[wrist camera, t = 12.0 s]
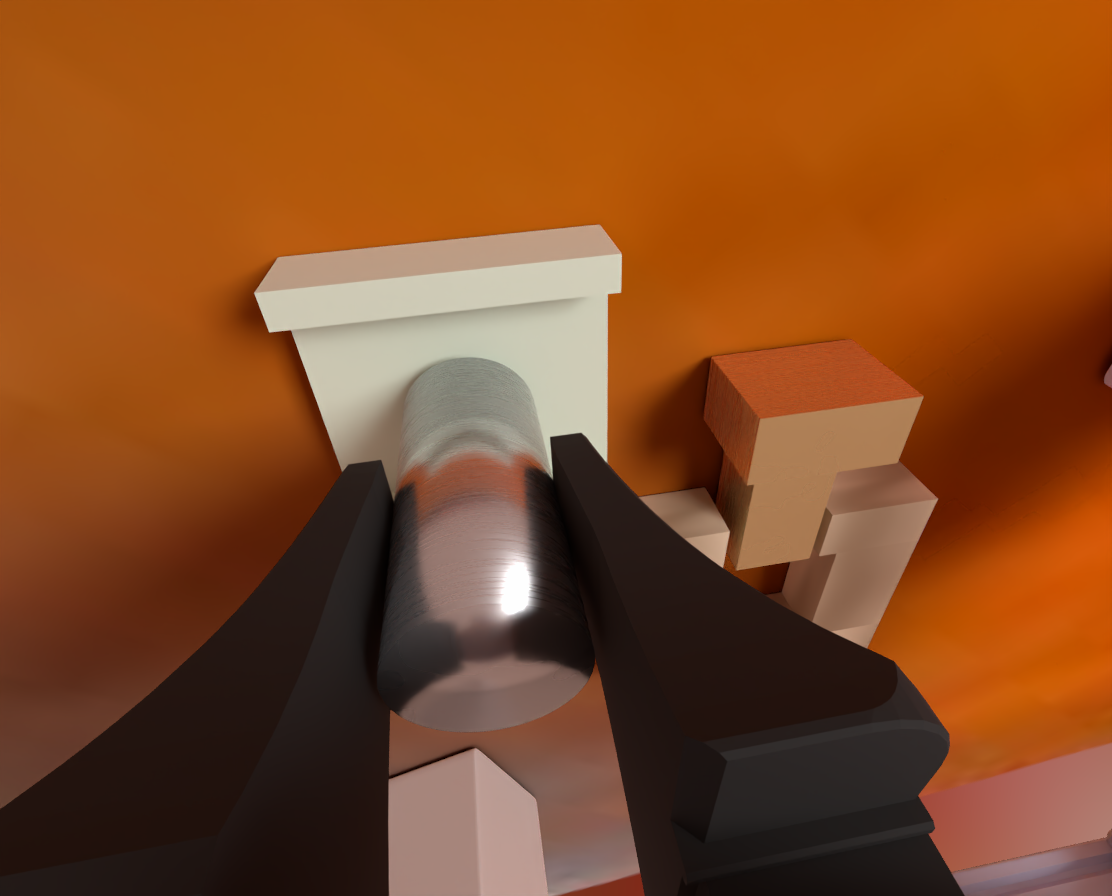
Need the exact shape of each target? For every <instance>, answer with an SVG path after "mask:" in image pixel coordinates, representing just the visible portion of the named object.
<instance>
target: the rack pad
mask: <svg viewBox="0 0 1112 896" xmlns="http://www.w3.org/2000/svg"><path fill="white" fill-rule="evenodd" d="M621 266H622V253H621V252H620V251H619V249H618V248H617V247H616V245H615V244H614V243H613V241H612V240H611V239H610V238H609V236H608V235H607V234H606V232H605V231H604V230H603V228H602V227H601V226H600V225H590V226H580V227H570V228H561V229H551V230H541V231H531V232H521V233H512V234H502V235H492V236H482V237H472V238H463V239H453V240H443V241H433V242H423V243H413V244H404V245H394V246H384V247H374V248H364V249H355V250H345V251H335V252H325V253H315V254H306V255H296V256H286V257H278V258H277V260H276V261H275V263H274V264H273V266H272V267H271V269H270V270H269V272H268V273H267V275H266V276H265V278H264V279H263V281H262V282H261V284H260V285H259V287H258V288H257V289H256V291H255V292H254V294H255V297H256V299H257V302H258V304H259V307H260V310H261V312H262V315H263V317H264V320H265V322H266V325H267V328H268V330H269V332H278V331H287V330H291V332H292V335H293V337H294V340H295V343H296V346H297V348H298V351H299V354H300V357H301V359H302V362H303V365H304V368H305V371H306V373H307V376H308V379H309V382H310V384H311V387H312V390H313V393H314V395H315V398H316V401H317V404H318V406H319V409H320V412H321V415H322V418H323V420H324V423H325V426H326V429H327V431H328V434H329V437H330V440H331V442H332V445H333V448H334V451H335V454H336V456H337V459H338V462H339V465H340V467H341V470H342V472H343V471H344V469H345V468H346V467H347V466H348V464H354V463H361V462H368V461H376V460H382V464H383V467H384V470H385V473H386V477H387V480H388V483H389V487H390V490H391V493H392V497H393V500H394V497H395V487H396V477H397V467H398V456H399V446H400V436H401V426H402V416H403V407H404V402H405V398H406V395H407V393H408V391H409V389H410V388H411V386H412V385H413V383H414V382H415V381H416V380H417V379H418V378H419V377H420V376H421V375H422V374H423V373H424V372H426V371H427V370H429V369H430V368H432V367H433V366H436V365H438V364H440V363H442V362H445V361H448V360H452V359H457V358H467V357H472V358H483V359H488V360H492V361H495V362H498V363H500V364H503V365H505V366H506V367H508V368H510V369H511V370H513V371H514V372H515V373H517V374H518V375H519V376H520V377H521V378H522V379H523V380H524V381H525V383H526V384H527V386H528V387H529V389H530V391H531V393H532V396H533V398H534V402H535V406H536V410H537V414H538V419H539V423H540V427H541V431H542V435H543V439H544V443H545V448H546V452H547V456H548V460H549V464H550V468H551V472H552V459H551V445H550V437H552V436H559V435H567V434H574V433H582V434H583V435H585V436H586V437H587V438H588V440H589V441H590V442H591V444H592V445H593V446H594V448H595V449H596V450H597V451H598V453H599V454H600V455H601V456H602V458H603V459H604V460H605V461H606V462H607V331H608V294H612V293H621ZM607 463H608V462H607ZM552 477H553V473H552Z"/></svg>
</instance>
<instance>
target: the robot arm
mask: <svg viewBox="0 0 1112 896" xmlns="http://www.w3.org/2000/svg"><path fill="white" fill-rule="evenodd" d="M1104 383H1105V384H1106V385H1107V386H1109V387H1111V388H1112V364H1111V366H1110V368H1109V369H1108V371H1107V372H1106V375H1105V377H1104ZM550 445H551V459H552V473H553V482H554V486H555V490H556V495H557V499H558V503H559V507H560V511H561V515H562V519H563V522H564V526H565V531H566V535H567V539H568V543H569V547H570V551H571V555H572V560H573V564H574V568H575V572H576V576H577V580H578V584H579V589H580V593H581V597H582V601H583V605H584V609H585V613H586V618H587V622H588V626H589V630H590V634H591V638H592V642H593V647H594V652H595V658H596V662H597V666H598V669H599V673H600V677H601V681H602V686H603V691H604V695H605V700H606V705H607V709H608V714H609V719H610V723H611V728H612V733H613V738H614V743H615V747H616V752H617V757H618V762H619V767H620V772H621V776H622V781H623V786H624V791H625V796H626V801H627V806H628V811H629V816H630V821H631V826H632V831H633V836H634V842H635V847H636V852H637V857H638V862H639V868H640V873H641V878H642V883H643V889H644V894H645V896H1112V829H1111V830H1110V831H1109V832H1108V834H1107V837H1106V838H1101V839H1097V840H1092V841H1088V842H1083V843H1079V844H1074V845H1070V846H1066V847H1061V848H1057V849H1052V850H1048V851H1044V852H1039V853H1034V854H1030V855H1025V856H1021V857H1016V858H1012V859H1007V860H1003V861H998V862H994V863H990V864H985V865H980V866H976V867H971V868H967V869H963V870H958V871H954V872H950V870H949V868H948V866H947V865H946V863H945V861H944V860H943V858H942V856H941V855H940V853H939V851H938V849H937V848H936V846H935V844H934V843H933V841H932V839H931V838H930V836H929V834H928V833H932V832H933V830H934V829H935V827H934V822H933V820H932V818H931V816H930V815H929V813H928V811H927V810H926V808H925V806H924V805H923V803H922V802H921V800H920V798H919V797H918V795H919V793H920V792H921V791H922V790H923V788H924V787H925V786H926V784H927V783H928V782H929V781H930V779H931V778H932V777H933V775H934V774H935V773H936V772H937V770H938V769H939V768H940V766H941V765H942V763H943V761H944V760H945V758H946V756H947V754H948V751H949V746H950V742H949V733H948V732H947V730H946V729H945V728H944V726H943V725H942V723H941V722H940V720H939V719H938V718H937V716H936V715H935V713H934V712H933V711H932V709H931V708H930V706H929V705H928V703H927V702H926V700H925V699H924V698H923V696H922V695H921V694H920V692H919V691H918V690H917V688H916V687H915V686H914V685H913V684H912V682H911V681H910V680H909V679H908V678H907V677H906V675H905V674H904V673H903V672H902V671H901V669H900V668H899V667H898V666H897V664H896V663H895V662H894V661H892V660H890V659H888V658H886V657H884V656H882V655H880V654H878V653H875V652H873V651H871V650H869V649H867V648H865V647H863V646H861V645H858V644H856V643H854V642H852V641H850V640H848V639H846V638H844V637H841V636H839V635H837V634H835V633H833V632H831V631H829V630H827V629H825V628H823V627H821V626H819V625H817V624H815V623H813V622H811V621H810V620H808V619H806V618H804V617H802V616H800V615H799V614H797V613H795V612H793V611H791V610H789V609H787V608H786V607H784V606H782V605H780V604H779V603H777V602H775V601H774V600H772V599H770V598H769V597H767V596H766V595H764V594H762V593H761V592H759V591H758V590H756V589H754V588H753V587H751V586H750V585H748V584H746V583H745V582H743V581H742V580H740V579H738V578H737V577H735V576H734V575H732V574H731V573H729V572H728V571H727V570H725V569H724V568H722V567H721V566H720V565H718V564H717V563H715V562H714V561H712V560H711V559H710V558H708V557H707V556H706V555H704V554H703V553H702V552H701V551H699V550H698V549H697V548H695V547H694V546H693V545H691V544H690V543H689V542H688V541H687V540H685V539H684V538H683V537H682V536H680V535H679V534H678V533H677V532H676V531H675V530H673V529H672V528H671V527H670V526H669V525H668V524H667V523H666V522H664V521H663V520H662V519H661V518H660V517H659V516H658V515H657V514H656V513H654V512H653V511H652V510H651V509H650V508H649V507H648V506H647V505H646V504H645V503H644V502H643V501H642V500H641V499H640V498H639V497H638V496H637V495H636V494H635V493H634V492H633V491H632V490H631V489H630V488H629V487H628V486H627V485H626V484H625V482H624V481H623V480H622V479H621V478H620V477H619V476H618V475H617V474H616V473H615V472H614V470H613V469H612V468H611V467H610V466H609V465H608V463H607V462H606V461H605V460H604V459H603V458H602V456H601V455H600V454H599V453H598V451H597V450H596V449H595V448H594V446H593V445H592V444H591V442H590V441H589V440H588V438H587V437H586V436H585V435H583V434H582V433H574V434H567V435H559V436H552V437H550ZM393 508H394V500H393V497H392V493H391V490H390V487H389V483H388V480H387V477H386V473H385V470H384V467H383V464H382V460H376V461H368V462H361V463H354V464H348V466H347V467H346V468H345V469H344V471H343V472H342V474H341V475H340V476H339V478H338V479H337V481H336V482H335V484H334V485H333V487H332V488H331V490H330V491H329V493H328V494H327V496H326V497H325V499H324V500H323V502H322V503H321V504H320V506H319V507H318V509H317V510H316V512H315V513H314V515H313V516H312V517H311V519H310V520H309V522H308V523H307V524H306V526H305V527H304V528H303V530H302V531H301V533H300V534H299V535H298V537H297V538H296V539H295V541H294V542H293V543H292V545H291V546H290V547H289V549H288V550H287V551H286V553H285V554H284V555H283V556H282V558H281V559H280V560H279V561H278V563H277V564H276V565H275V566H274V568H273V569H272V570H271V571H270V573H269V574H268V575H267V576H266V577H265V579H264V580H263V581H262V582H261V584H260V585H259V586H258V587H257V588H256V590H255V591H254V592H253V593H252V594H251V595H250V596H249V598H248V599H247V600H246V601H245V602H244V603H243V604H242V606H241V607H240V608H239V609H238V610H237V611H236V612H235V613H234V614H233V615H232V616H231V617H230V618H229V619H228V620H227V621H226V622H225V624H224V625H223V626H222V627H221V628H220V629H219V630H218V631H217V632H216V633H215V634H214V635H213V636H212V637H211V638H210V639H209V640H208V641H207V642H206V643H205V644H204V645H203V646H202V647H200V648H199V649H198V650H197V651H196V652H195V653H194V654H193V655H192V656H191V657H190V658H188V659H187V660H186V661H185V662H184V663H183V664H182V665H181V666H180V667H179V668H178V669H177V670H175V671H174V672H173V673H172V674H171V675H170V676H169V677H168V678H167V679H166V680H165V681H164V682H162V683H161V684H160V685H159V686H158V687H157V688H156V689H155V690H154V691H152V692H151V693H150V694H149V695H148V696H147V697H146V698H144V699H143V700H142V701H141V702H140V703H138V704H137V705H136V706H135V707H134V708H132V709H131V710H130V711H129V712H128V713H126V714H125V715H124V716H123V717H122V718H120V719H119V720H118V721H117V722H116V723H114V724H113V725H112V726H111V727H109V728H108V729H107V730H106V731H104V732H103V733H102V734H101V735H99V736H98V737H97V738H96V739H94V740H93V741H92V742H90V743H89V744H88V745H87V746H85V747H84V748H83V749H82V750H80V751H79V752H78V753H76V754H75V755H74V756H72V757H71V758H70V759H69V760H67V761H66V762H65V763H63V764H62V765H61V766H59V767H58V768H57V769H55V770H54V771H52V772H51V773H50V774H48V775H47V776H46V777H44V778H43V779H41V780H40V781H39V782H37V783H36V784H35V785H33V786H32V787H30V788H29V789H28V790H26V791H25V792H24V793H22V794H21V795H19V796H18V797H17V798H15V799H14V800H13V801H11V802H10V803H8V804H7V805H6V806H4V807H3V808H2V809H0V896H389V840H388V803H389V731H390V708H389V707H388V706H387V705H386V704H385V702H384V701H383V699H382V698H381V696H380V693H379V690H378V688H377V671H378V661H379V651H380V640H381V630H382V620H383V610H384V600H385V589H386V579H387V569H388V559H389V548H390V538H391V528H392V518H393Z"/></svg>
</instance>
